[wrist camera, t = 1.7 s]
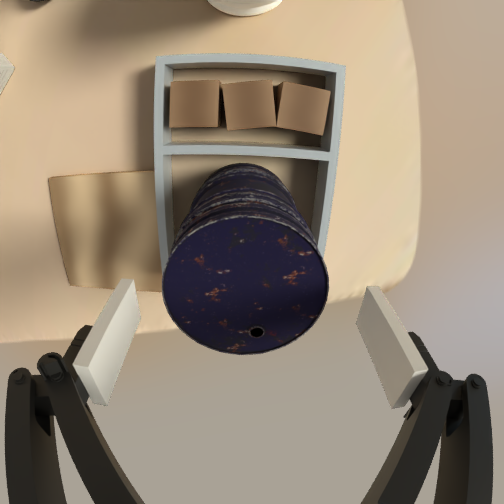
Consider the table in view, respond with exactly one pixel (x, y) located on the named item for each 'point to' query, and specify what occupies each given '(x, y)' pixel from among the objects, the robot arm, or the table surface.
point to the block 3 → (301, 107)
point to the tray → (167, 147)
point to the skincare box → (5, 71)
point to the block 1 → (195, 103)
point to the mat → (108, 228)
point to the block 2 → (249, 104)
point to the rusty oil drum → (244, 265)
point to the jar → (244, 6)
